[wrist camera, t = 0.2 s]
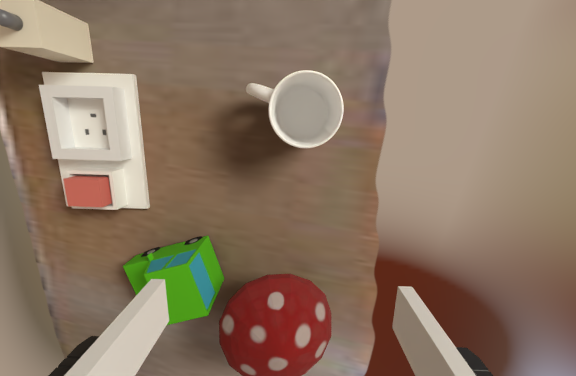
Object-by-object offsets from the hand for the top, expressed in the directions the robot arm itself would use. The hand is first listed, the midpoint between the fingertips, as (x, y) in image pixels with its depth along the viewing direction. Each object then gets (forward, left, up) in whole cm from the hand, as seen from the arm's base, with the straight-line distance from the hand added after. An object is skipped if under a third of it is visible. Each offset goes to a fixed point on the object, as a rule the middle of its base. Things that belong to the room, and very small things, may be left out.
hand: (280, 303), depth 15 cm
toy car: (+14, -18, -28) cm, 36 cm away
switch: (+1, -29, -25) cm, 38 cm away
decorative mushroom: (+18, -1, -28) cm, 33 cm away
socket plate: (-6, -29, -28) cm, 40 cm away
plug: (-20, -31, -28) cm, 46 cm away
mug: (-12, 0, -28) cm, 30 cm away
